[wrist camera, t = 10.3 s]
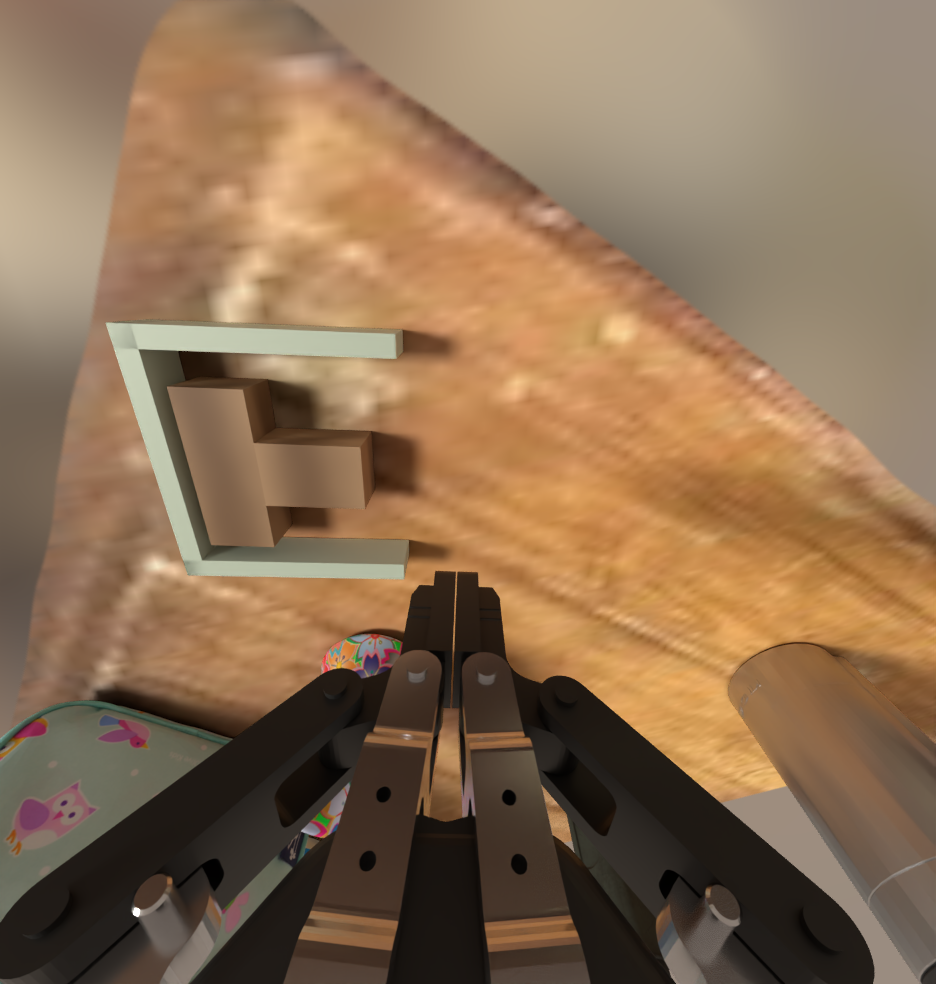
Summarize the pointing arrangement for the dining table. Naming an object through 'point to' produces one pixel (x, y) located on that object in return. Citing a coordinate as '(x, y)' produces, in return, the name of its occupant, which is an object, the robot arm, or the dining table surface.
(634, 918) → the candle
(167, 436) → the bay
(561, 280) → the dining table surface
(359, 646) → the mug
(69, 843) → the lunch box
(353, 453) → the t block
